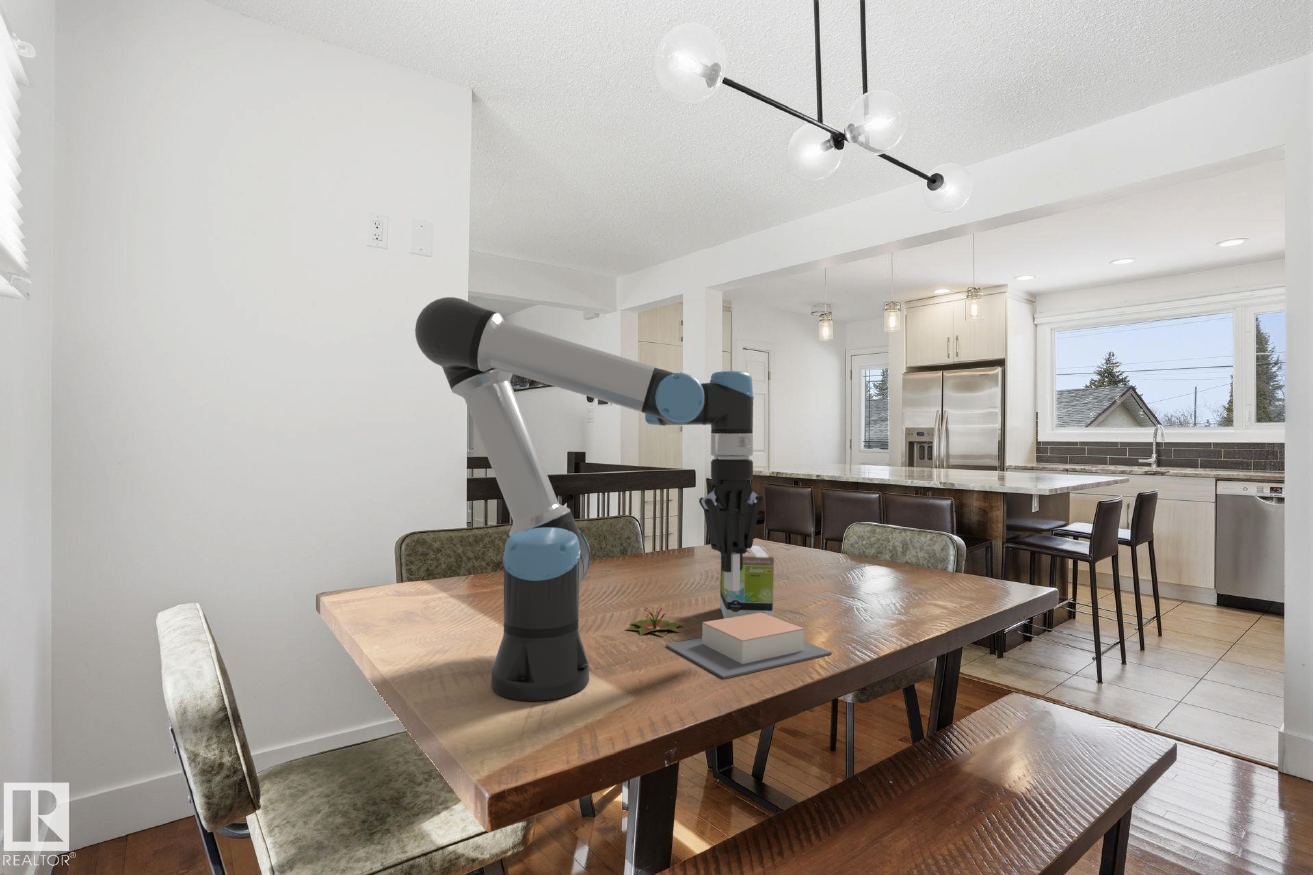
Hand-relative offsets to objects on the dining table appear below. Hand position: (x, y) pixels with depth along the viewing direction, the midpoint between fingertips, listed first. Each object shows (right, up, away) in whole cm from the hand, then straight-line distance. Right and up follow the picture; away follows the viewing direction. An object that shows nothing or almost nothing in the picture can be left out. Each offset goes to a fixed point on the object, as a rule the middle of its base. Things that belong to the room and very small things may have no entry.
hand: (731, 589), depth 112 cm
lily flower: (-14, -12, +15) cm, 24 cm away
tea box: (+6, -12, +23) cm, 27 cm away
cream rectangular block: (-2, -9, -1) cm, 9 cm away
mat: (+3, -12, +2) cm, 12 cm away
